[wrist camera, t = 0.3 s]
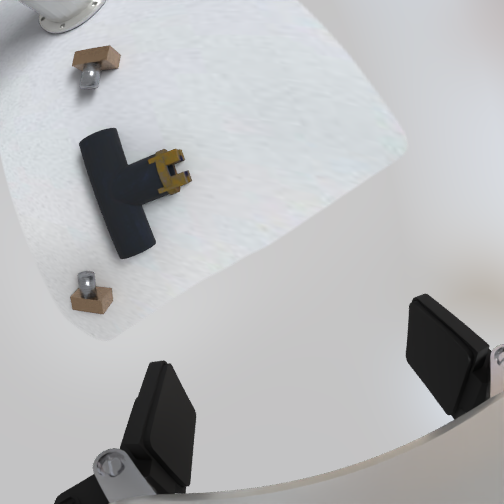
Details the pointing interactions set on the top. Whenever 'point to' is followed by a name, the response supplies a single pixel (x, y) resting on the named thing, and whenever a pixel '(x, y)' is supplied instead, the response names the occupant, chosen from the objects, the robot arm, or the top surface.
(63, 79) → the top surface
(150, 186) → the pipe connector
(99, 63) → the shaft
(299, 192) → the top surface
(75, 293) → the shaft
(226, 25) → the top surface
